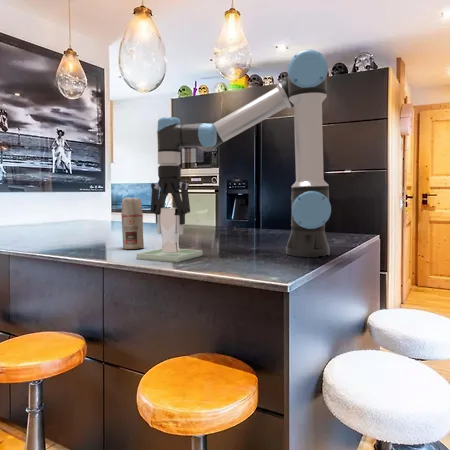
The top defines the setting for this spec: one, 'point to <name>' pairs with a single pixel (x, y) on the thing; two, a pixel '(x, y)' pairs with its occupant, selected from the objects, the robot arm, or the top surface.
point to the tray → (170, 255)
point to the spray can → (132, 223)
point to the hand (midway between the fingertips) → (170, 233)
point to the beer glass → (169, 230)
